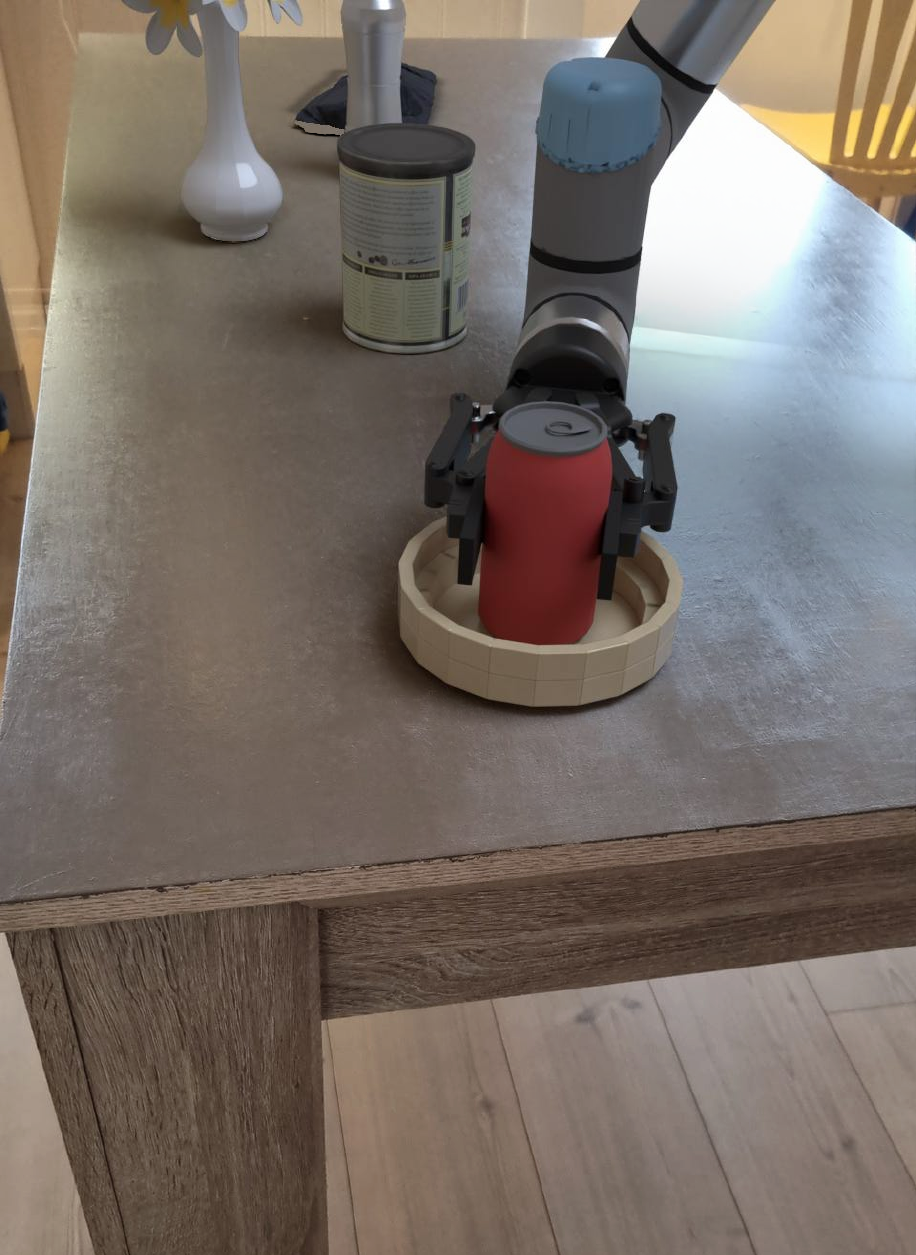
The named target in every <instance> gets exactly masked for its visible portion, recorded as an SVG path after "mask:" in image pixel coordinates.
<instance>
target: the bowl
mask: <svg viewBox="0 0 916 1255" xmlns="http://www.w3.org/2000/svg"><path fill="white" fill-rule="evenodd" d="M446 522H447V515H446V516H444V517H441V518H439V519H436V520H433V521H432V522H430V523H429V524H428V525H427V526H425V527H424V528H423V529H421V530H420V531H419V532H418V533H417V534H416V535H414V536H412V538H410V540H408V542H407V544H406V546H405V549H404V550H403V552H402V555H401V557H400V558H399V561H398V563H397V618H398V619H397V620H398V628H399V637H400V639H401V640H402V642H403V644H404V645H405V647H406V649H408V651H409V653H410V654H411V655H412V657H413V658H414V659H415V661H416V662H417V664H418V665H420V666H421V667H423V668H424V669H425V670H427V671H428V672H429V673H431V674H432V675H434V676H436V677H437V678H438V679H439V680H441V681H442V682H444V683H445V684H447V685H450V686H452V687H455V688H457V689H460V690H462V691H465V692H468V693H470V694H473V695H476V696H478V697H481V698H483V699H487V700H490V701H494V702H495V701H496V702H501V703H507V704H508V703H509V704H514V705H520V706H526V707H536V708H537V707H539V708H540V707H571V706H572V707H573V706H576V707H577V706H582V705H587V704H590V703H595V702H600V701H604V700H608V699H612V698H617V697H619V696H622V695H624V694H626V693H628V692H629V691H631V690H633V689H635V688H637V687H638V686H641V685H642V684H644V683H646V682H648V681H650V680H651V679H653V678H654V677H655V676H656V675H657V673H658V672H659V671H660V670H661V669H662V667H663V666H664V665H665V663H666V662H667V661H668V660H669V658H670V657H671V656H672V650H673V644H674V639H675V634H676V629H677V623H678V617H679V611H680V607H681V606H680V605H681V600H682V594H683V589H684V582H685V581H684V579H683V576H682V573H681V571H680V569H679V566H678V564H677V561H676V559H675V557H674V556H673V555H672V554H671V553H670V552H669V551H668V550H667V549H666V548H665V547H664V546H663V545H662V544H661V543H660V542H659V541H658V540H657V539H656V538H655V537H653V536H652V535H651V534H649V533H647V532H645V531H643V530H641V536H640V543H639V549H638V554H637V555H636V556H635V557H634V558H630V557H621V556H617V563H616V570H615V578H614V585H613V592H612V599H611V601H610V600H600V599H597V598H596V605H595V613H594V621H593V624H592V625H591V627H590V629H589V630H588V632H587V633H586V635H584V636H583V637H581V638H580V639H579V640H577V641H576V642H574V643H573V644H570V645H533V644H527V643H521V642H515V641H508V640H502V639H497V638H495V637H494V636H493V635H492V634H491V633H490V632H489V631H488V630H486V629H485V628H484V626H483V624H482V622H481V620H480V617H479V615H478V604H479V586H480V569H481V552H482V544H481V549H480V553H479V557H478V561H477V565H476V570H475V574H474V578H473V582H472V586H470V585H460V584H457V579H458V557H459V539H455V538H448V536H447V534H446ZM597 591H598V590H597Z"/></svg>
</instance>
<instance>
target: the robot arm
mask: <svg viewBox="0 0 916 1255" xmlns="http://www.w3.org/2000/svg"><path fill="white" fill-rule="evenodd" d="M776 1H777V0H639V1H638V3H637V5H636V6H635V8H634V10H633V11H632V13H631V15H630V17H629V18H628V20H627V22H626V23H625V24H624V25H623V27H622V28H621V30H620V32H619V33H618V35H616V37H615V39H614V41H613V43H612V44H611V46H610V48H609V49H608V51H607V53H606V54H605V56H604V57H601V56H588V57H587V56H586V57H585V56H584V57H576V58H572V59H571V60H564V61H560V62H558V63H555V65H553V66H552V67H551V68H550V69H549V70H548V71H547V73H546V74H545V77H544V80H543V84H542V91H541V100H540V109H539V114H538V117H537V120H536V121H535V129H534V130H535V132H534V134H535V135H536V152H535V167H534V168H535V169H534V181H533V182H534V183H533V200H532V215H531V230H530V240H529V251H528V262H527V276H526V289H525V290H526V291H525V301H524V302H525V303H524V310H523V311H524V312H523V318H522V325H521V329H520V333H519V336H518V339H517V342H516V346H515V350H514V353H513V357H512V362H511V366H510V370H509V374H508V377H507V381H506V385H505V389H504V392H503V393H502V394H500V395H498V396H497V397H496V398H495V399H494V400H493V403H492V404H481V403H480V402H477V401H476V402H473V401H472V398H471V396H470V395H469V394H467V393H465V392H454V393H452V394H450V397H449V417H448V419H447V421H446V423H445V425H444V427H443V428H442V431H441V432H440V434H439V436H438V438H437V440H436V441H435V443H434V445H433V446H432V448H431V451H430V452H429V453H428V456H427V458H426V460H425V462H424V484H423V485H424V488H423V489H424V490H423V504H424V506H426V507H427V508H430V509H441V508H443V507H445V505H447V508H446V516H447V522H446V534H447V536H448V538H455V539H459V557H458V579H457V584H460V585H470V586H472V582H473V578H474V574H475V570H476V565H477V561H478V557H479V553H480V549H481V544H482V534H483V517H484V499H485V482H486V465H487V458H488V454H489V450H490V447H491V444H492V442H493V440H494V438H495V435H493V436H492V438H491V439H489V440H488V441H487V442H486V443H485V444H484V445H483V446H481V448H479V449H478V450H477V451H476V452H475V453H474V454H473V455H471V457H470V454H471V452H472V444H473V445H476V444H478V443H479V442H480V435H482V434H484V432H485V431H486V429H487V428H490V427H491V428H492V430H493V431H494V432H495V433H497V432H498V430H499V420H500V418H501V417H502V416H503V414H504V413H505V412H506V411H508V410H510V409H512V408H514V407H516V406H518V405H522V404H526V403H531V402H543V401H550V402H563V403H568V404H572V405H577V406H580V407H582V408H585V409H588V410H590V411H592V412H593V413H595V414H596V415H598V416H599V417H601V418H602V420H603V421H604V423H605V424H606V425H607V437H606V438H607V441H608V444H609V448H610V452H611V460H612V481H611V489H610V497H609V504H608V508H607V513H606V521H605V528H604V536H603V544H602V551H601V561H600V571H599V581H598V591H597V599H600V600H610V601H611V599H612V592H613V585H614V578H615V570H616V563H617V556H621V557H630V558H634V557H635V556H636V555H637V554H638V549H639V543H640V536H641V531H642V528H645V527H648V526H649V529H651V530H652V531H653V532H657V533H668V532H670V531H671V530H672V525H673V519H674V514H675V508H676V502H677V496H678V489H679V487H678V482H677V481H678V480H677V476H676V470H675V463H674V458H673V453H672V452H673V451H672V445H673V441H674V440H673V438H674V433H675V426H676V419H677V417H676V416H675V415H674V414H672V413H669V412H660V413H657V414H656V415H655V416H654V417H653V419H652V420H651V419H644V420H643V421H642V420H638V419H634V416H633V413H632V410H630V408H629V407H627V405H626V403H627V393H628V379H629V378H628V377H629V371H630V360H631V359H630V358H631V356H630V352H631V341H632V334H633V328H634V323H635V315H636V308H637V295H638V288H639V287H638V286H639V281H640V280H639V279H640V271H641V265H642V255H643V242H644V238H645V237H644V236H645V230H646V221H647V216H648V211H649V203H650V195H651V191H652V185H653V184H654V183H655V181H656V179H657V178H658V176H659V174H660V173H661V171H662V169H663V168H664V167H665V164H666V162H667V161H668V159H669V157H670V156H671V154H672V153H673V152H674V151H675V149H676V148H677V146H678V145H679V144H680V143H681V141H682V140H683V138H684V136H685V135H686V134H687V131H688V130H689V128H690V127H691V125H692V124H693V122H694V121H695V119H696V118H697V116H698V115H699V114H700V112H701V110H703V108H704V106H705V105H706V103H707V102H708V101H709V99H710V97H711V96H712V95H713V93H714V91H715V89H716V88H717V86H718V84H719V83H720V82H721V80H722V79H723V78H724V76H725V75H726V73H727V71H728V70H729V69H730V67H731V66H732V65H733V63H734V62H735V60H736V59H737V57H738V56H739V54H740V53H741V51H742V50H743V48H744V47H745V45H746V44H747V43H748V41H749V39H750V38H751V37H752V35H753V34H754V32H755V31H756V30H757V28H758V27H759V25H760V24H761V22H762V21H763V20H764V18H765V17H766V15H767V14H768V13H769V11H770V10H771V8H772V7H773V5H774V4H775V3H776ZM628 442H631V443H633V447H634V449H635V450H637V452H638V453H637V460H638V461H640V462H642V467H641V474H642V477H641V476H636V474H635V472H634V471H633V469H632V467H631V466H630V464H629V462H628V460H627V459H626V457H625V456H624V454H623V453H622V451H621V449H620V447H623V446H624V445H626V444H627V443H628ZM469 457H470V458H469Z"/></svg>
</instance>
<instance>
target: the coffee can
mask: <svg viewBox="0 0 916 1255" xmlns="http://www.w3.org/2000/svg"><path fill="white" fill-rule="evenodd" d="M476 147H477V146H476V143H475V141H474V140H473V139H472V138H471V137H470V136H468V135H466V134H464V133H463V132H460V131H457V130H454V129H451V128H448V127H444V126H437V125H432V124H427V125H425V124H414V123H385V124H376V125H368V126H364V127H360V128H356V129H353V130H350V131H348V132H346V133H344V134H342V135H341V136H338V137H337V140H336V151H337V154H338V181H339V185H338V186H339V214H340V216H339V217H340V221H339V222H340V244H341V248H340V250H341V251H340V252H341V282H342V284H341V285H342V290H341V291H342V316H343V317H342V318H343V320H342V331H343V334H344V335H345V336H346V337H347V338H348V339H349V340H350V341H351V342H354V343H355V344H357V345H359V346H362V347H364V348H366V349H369V350H374V351H377V352H378V351H380V352H381V353H382V352H383V353H390V354H404V355H405V354H407V355H408V354H409V355H411V354H412V355H413V354H424V353H433V352H438V351H442V350H444V349H448V348H451V347H453V346H456V345H458V344H459V343H460V342H461V341H463V340H464V339H465V337H466V335H467V333H468V300H469V299H468V298H469V276H470V274H469V273H470V272H469V271H470V252H471V251H470V250H471V246H470V245H471V223H472V222H471V221H472V198H473V197H472V195H473V194H472V193H473V168H474V165H473V164H474V158H475V155H476Z"/></svg>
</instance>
